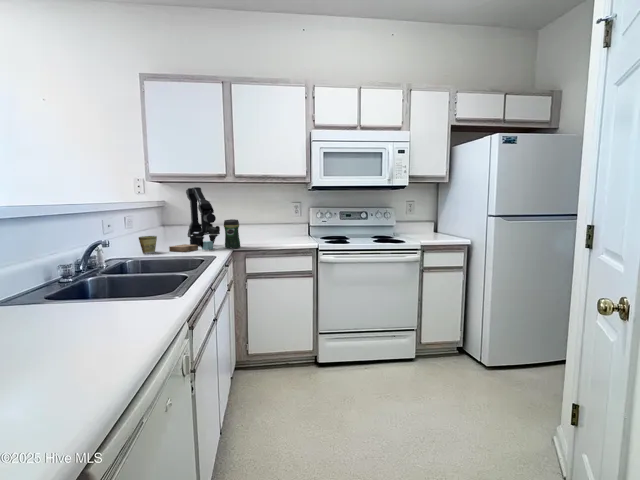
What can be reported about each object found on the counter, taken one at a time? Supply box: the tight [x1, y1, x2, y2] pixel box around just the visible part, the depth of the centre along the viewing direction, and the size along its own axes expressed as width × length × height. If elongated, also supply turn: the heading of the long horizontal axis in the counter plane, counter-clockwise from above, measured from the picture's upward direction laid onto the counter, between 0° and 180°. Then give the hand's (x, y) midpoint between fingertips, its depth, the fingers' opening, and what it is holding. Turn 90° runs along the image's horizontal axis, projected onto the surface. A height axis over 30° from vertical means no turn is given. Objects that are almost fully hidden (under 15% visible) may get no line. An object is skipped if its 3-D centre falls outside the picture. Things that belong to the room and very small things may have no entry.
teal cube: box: [201, 240, 214, 251], centre depth 226 cm, size 5×5×5 cm
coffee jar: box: [223, 218, 241, 249], centre depth 228 cm, size 10×8×19 cm
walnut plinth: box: [168, 243, 199, 253], centre depth 221 cm, size 12×12×3 cm
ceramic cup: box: [138, 235, 158, 254], centre depth 216 cm, size 13×10×10 cm
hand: (207, 246), depth 226 cm, fingers open, 9 cm apart
